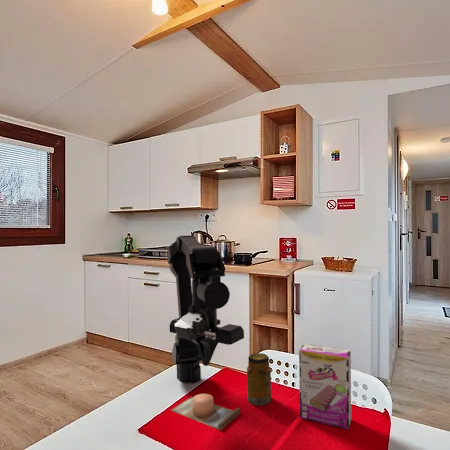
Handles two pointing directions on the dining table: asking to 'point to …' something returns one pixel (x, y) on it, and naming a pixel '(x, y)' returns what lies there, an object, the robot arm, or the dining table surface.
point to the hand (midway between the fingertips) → (206, 365)
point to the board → (214, 420)
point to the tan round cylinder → (203, 405)
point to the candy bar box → (325, 385)
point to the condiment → (259, 380)
